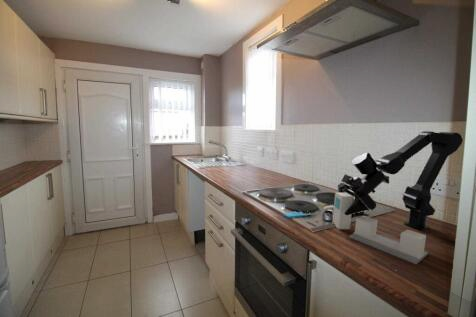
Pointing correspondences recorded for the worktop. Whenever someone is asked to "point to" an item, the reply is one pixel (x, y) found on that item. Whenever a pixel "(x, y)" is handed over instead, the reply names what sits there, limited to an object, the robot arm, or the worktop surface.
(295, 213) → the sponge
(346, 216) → the block
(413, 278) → the worktop surface
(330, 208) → the gun
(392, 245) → the board
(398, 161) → the robot arm
